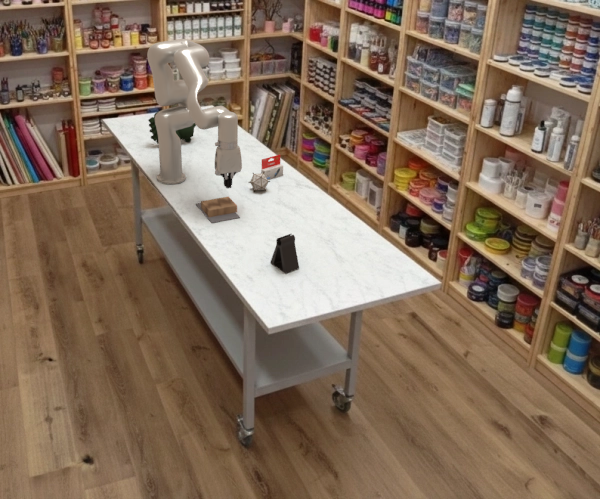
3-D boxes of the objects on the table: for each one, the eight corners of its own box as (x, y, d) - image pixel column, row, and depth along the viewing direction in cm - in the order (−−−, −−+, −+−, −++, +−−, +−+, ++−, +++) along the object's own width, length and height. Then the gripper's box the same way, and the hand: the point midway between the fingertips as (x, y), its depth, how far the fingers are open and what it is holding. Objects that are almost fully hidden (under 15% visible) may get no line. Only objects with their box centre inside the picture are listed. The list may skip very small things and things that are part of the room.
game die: (261, 199, 304) (266, 188, 295) (244, 190, 304) (247, 179, 295) (270, 183, 308) (274, 172, 299) (252, 175, 308) (256, 163, 299)
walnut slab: (228, 203, 290) (201, 207, 285) (228, 196, 289) (201, 201, 284) (237, 212, 284) (209, 217, 278) (237, 205, 282) (209, 210, 277)
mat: (195, 204, 289) (195, 203, 288) (223, 199, 294) (222, 198, 294) (211, 223, 275) (211, 222, 275) (240, 218, 280) (240, 217, 280)
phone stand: (270, 263, 251) (271, 233, 245) (283, 258, 254) (284, 229, 248) (285, 273, 245) (287, 244, 239) (299, 268, 248) (300, 239, 243)
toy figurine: (158, 154, 337) (204, 141, 349) (152, 117, 327) (200, 105, 338) (149, 148, 344) (195, 135, 355) (144, 111, 333) (191, 99, 345)
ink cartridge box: (283, 175, 318) (284, 155, 314) (264, 181, 312) (264, 161, 307) (279, 174, 320) (280, 154, 315) (260, 179, 313) (261, 159, 309)
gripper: (213, 149, 266) (214, 193, 275) (249, 144, 273) (248, 187, 282) (206, 143, 272) (207, 186, 281) (241, 138, 278) (241, 180, 287)
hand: (228, 186), depth 281 cm, fingers closed
